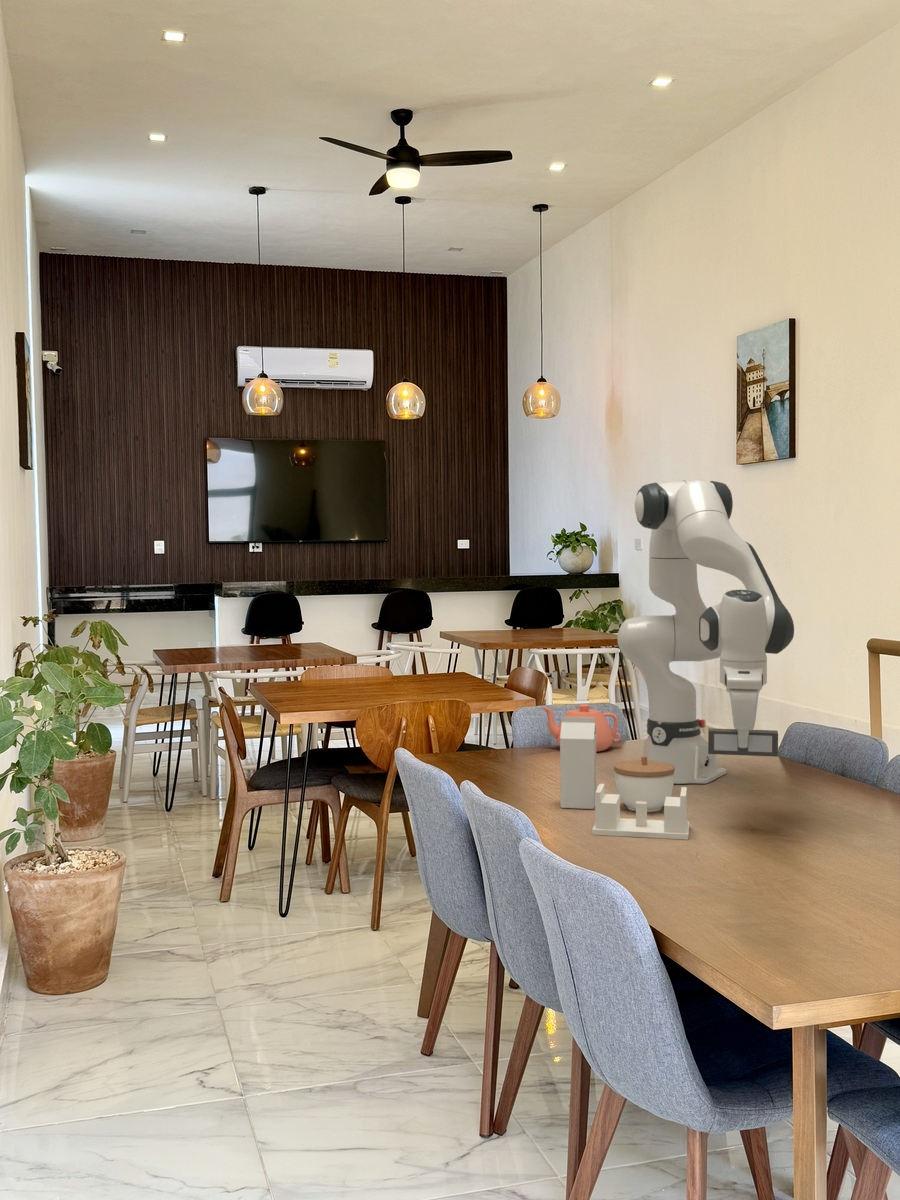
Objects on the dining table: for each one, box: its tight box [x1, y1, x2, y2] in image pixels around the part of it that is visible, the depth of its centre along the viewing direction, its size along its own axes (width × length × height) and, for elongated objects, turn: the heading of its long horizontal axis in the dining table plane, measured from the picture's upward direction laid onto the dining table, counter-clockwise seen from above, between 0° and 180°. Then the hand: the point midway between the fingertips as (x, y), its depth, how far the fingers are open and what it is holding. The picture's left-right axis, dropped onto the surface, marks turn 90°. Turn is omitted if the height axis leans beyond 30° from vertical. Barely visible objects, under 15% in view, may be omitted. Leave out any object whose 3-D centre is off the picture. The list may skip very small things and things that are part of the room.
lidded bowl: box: [613, 755, 675, 813], centre depth 229 cm, size 13×13×11 cm
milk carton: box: [559, 716, 597, 810], centre depth 232 cm, size 7×7×19 cm
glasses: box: [707, 727, 779, 758], centre depth 211 cm, size 13×3×4 cm, turn 76°
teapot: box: [540, 703, 622, 753], centre depth 299 cm, size 22×16×12 cm
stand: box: [591, 783, 691, 841], centre depth 211 cm, size 18×10×8 cm, turn 76°
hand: (742, 745), depth 211 cm, fingers closed on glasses, 3 cm apart
